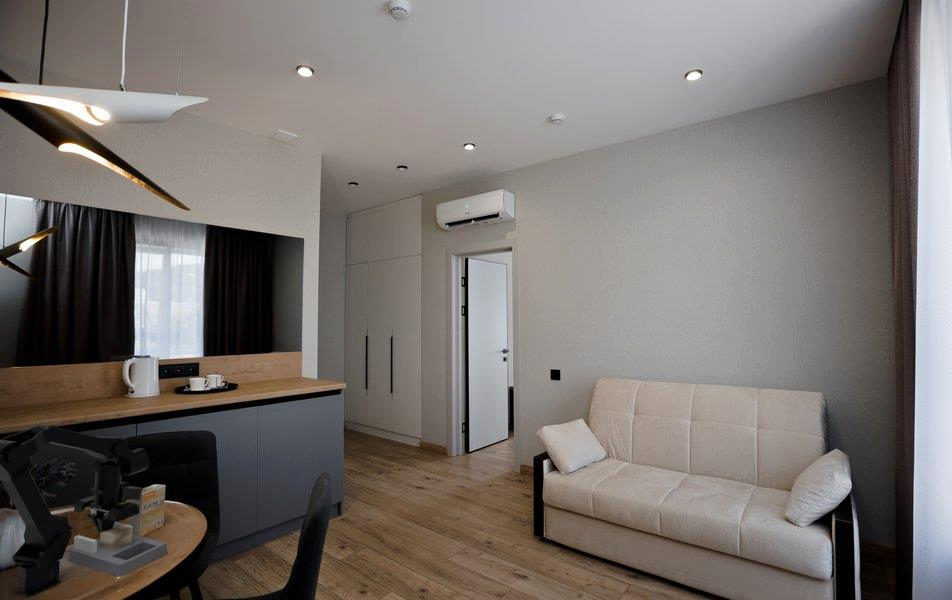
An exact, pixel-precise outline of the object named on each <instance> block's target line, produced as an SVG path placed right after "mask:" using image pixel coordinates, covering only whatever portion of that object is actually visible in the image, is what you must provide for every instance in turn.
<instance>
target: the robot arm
mask: <svg viewBox="0 0 952 600" xmlns="http://www.w3.org/2000/svg"><path fill="white" fill-rule="evenodd" d="M127 442H128V441H127V439H125V438H123V437H110V436H94V435H90V434H86V433H82V432H77V431H73V430H69V429H65V428H63V427H62V428H61V427H58V426H57V425H50V424H37V425H35V426H33V427H31V428H28V429H26V430H23V431H20V432H17V433H15V434H10V435H7V436H5V437H3V438H2V439H1V438H0V482H1V483H2V485H3V487H4V489H5V491H6V492H7V494H8V496H9V498H10V499H11V501H12V503H13V505H14V507H15V509H16V510H17V512H18V514H19V516H20V517H21V518H20V519H21V520H22V521H23V523H24V525H25V529H24V532H23V540H24V542H23V544H22V545H21V546H20V547H19V548H18V550H16V552H15V553H14V554H13V555H12V557H11V559H12V561H13V563H14V564H15V565H19V566H18V572H17V573H18V575H17V587H14V588H13V592H15V593H17V594H20V595H23V596H25V597H27V598H28V597H31V596H33V595H36V594H39V593H40V592H42V591H44V590H47V589H49V588H51V587H53V586H56V585H58V584H60V583H61V581H62V579H60V568H61V561H60V560H63V558H64V555H65V552H66V550H67V548H68V545H69V542H70V540H71V539H72V536H73V534H72V530H73V529H74V527H72V526H71V525H70V523H69V518H68V517H67V516H65V515H56V514H52V512H51V511H50V508H49V506H48V505H47V503H46V500H45V499H44V497H43V495H42V493H41V491H40V489H39V487H38V485H37V483H36V481H35V479H34V478H33V475H32V473H31V472H30V467H31V462H32V456H34V455H36V454H37V453H39V452H41V450H42V449H43V448H45V446H46V445H48V444H51V445H58V446H62V447H67V448H72V449H77V450H81V451H83V452H85V453H86V455H89V456H91V457H94V458H97V459H105V460H104V461H100V460H95V461H94V462H93V463H92V464H90V466H88V468H87V469H86V470H87V471H88V472H89V471H90V472H95V481H94V487H91V489H90V492H91V493H94V495H91V496H88V497H85V498H81V499H79V500H77V501H76V502H75V504H73V505H74V508H73V512H76V513H79V514H81V513H83V512H84V510H85V508H89V510H90V514H88V515H87V518H89V520H90V522H91V523H92V524H93V526H94V527H95V529H96V530H97V532H98V534H99V535H100V533H101V532H103V531H106V530H109V529H111V528H113V526H114V523H115V522H118V521H119V522H122V521H124V520H126V519H129V517H132V516H134V515H137V514H139V513H140V506H139V505H138V504H135V503H130V501H128V502H127V500H130V499H135V500H139V498H140V495H141V493H142V490H143V487H139V486H132V485H130V483H129V482H126V481H122V477H125V478H126V477H129V476H132V475H135V474H137V473H140V472H143V471H146V470H147V469H148V468H149V466H150V464H151V459H150V458H149V457H150V456H149V455H148V454H147V453H146V452H145V450H146V449H145V448H142V447H141V448H140V447H139V448H136V449H134V450H132V449H131V448H130V447H129V445H128V443H127ZM106 459H107V460H106ZM123 502H125V504H122V505H121V504H119V503H123ZM121 520H122V521H121Z"/></svg>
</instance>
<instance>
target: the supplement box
mask: <svg viewBox="0 0 952 600" xmlns="http://www.w3.org/2000/svg"><path fill="white" fill-rule="evenodd" d="M142 488H143V487H142ZM165 501H166V484H151V485H150V486H146V487H144V488H143V490H142V493H141V495H140V498H139V500H135V499H129V502H130V503H135V504H138V505H139V506H140V513H139V514H137V515H134V516H132V517H129V518H128V525H130V526H133V531H132V534H134V535H137V536H141V537H145V536H146V535H148V534H150V533H152V532H154V531H157V530H158V529H160V528H163V527H164V521H165V520H164V519H165V504H166V503H165Z"/></svg>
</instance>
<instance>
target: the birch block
mask: <svg viewBox="0 0 952 600" xmlns="http://www.w3.org/2000/svg"><path fill="white" fill-rule="evenodd" d="M99 538H100V548H103V549H107V550H111V551H112V550H115V549H117V548H119V547H122V546H124V545H126V544H128V543H131V539H132V528H131V527H127V526H122V525H119V526H116V527H114V528H111V529H109V530H106V531H103V532H101V533H100V534H99Z"/></svg>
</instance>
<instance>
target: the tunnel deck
mask: <svg viewBox="0 0 952 600" xmlns="http://www.w3.org/2000/svg"><path fill="white" fill-rule="evenodd" d="M119 525H122V526H127V527H131V528H132V531H133V526H130V525H129V524H127V523H122V522H120V521H119V522H115V523H114V526H113V528H114V527H116V526H119ZM167 549H168V543H167V542H164V541H161V540H155V539H152V538H149V537H145V536H143V537H141V536H137V535H134V534H132V539H131V543H128V544H126V545H124V546H122V547H119V548H117V549H115V550H112V551H111V550H107V549H103V548H100V537H97V538H94V539H93V538H90V537H86V536H84V535H79V534H78V535H75V536H74V537H73V547H72V548H70V549H69V551H68V553H69V554H68V562H71V563H75V564H77V565H80V566H83V567H87V568H90V569H94V570H96V571H99V572H102V573H106V574H109V575H112V576H115V577H118V578H121V577H123V576H125V575H127V574H129V573H131V572H133V571H135V570H138V569H139V568H141V567H143V566H145V565H147V564H149V563H151V562H153V561H156V560H157V559H159V558H161V557H164V556H165V555H167V551H168V550H167Z"/></svg>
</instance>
